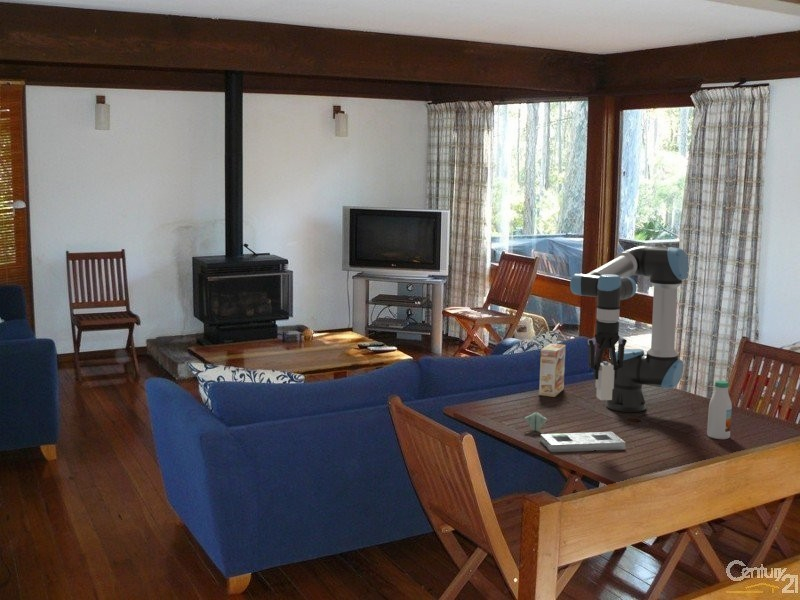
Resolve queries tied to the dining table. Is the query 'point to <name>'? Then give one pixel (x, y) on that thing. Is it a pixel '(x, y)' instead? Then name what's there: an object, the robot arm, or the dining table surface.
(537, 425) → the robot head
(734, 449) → the dining table surface
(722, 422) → the milk bottle
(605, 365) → the plug
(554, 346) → the coffeecake box
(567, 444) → the panel
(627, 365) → the robot arm
